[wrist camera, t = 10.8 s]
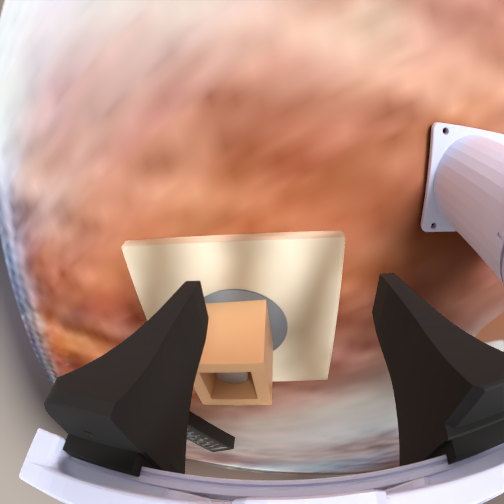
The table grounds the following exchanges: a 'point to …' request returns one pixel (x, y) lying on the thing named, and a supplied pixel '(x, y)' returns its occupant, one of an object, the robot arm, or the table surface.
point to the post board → (254, 287)
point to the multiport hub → (208, 435)
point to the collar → (236, 354)
